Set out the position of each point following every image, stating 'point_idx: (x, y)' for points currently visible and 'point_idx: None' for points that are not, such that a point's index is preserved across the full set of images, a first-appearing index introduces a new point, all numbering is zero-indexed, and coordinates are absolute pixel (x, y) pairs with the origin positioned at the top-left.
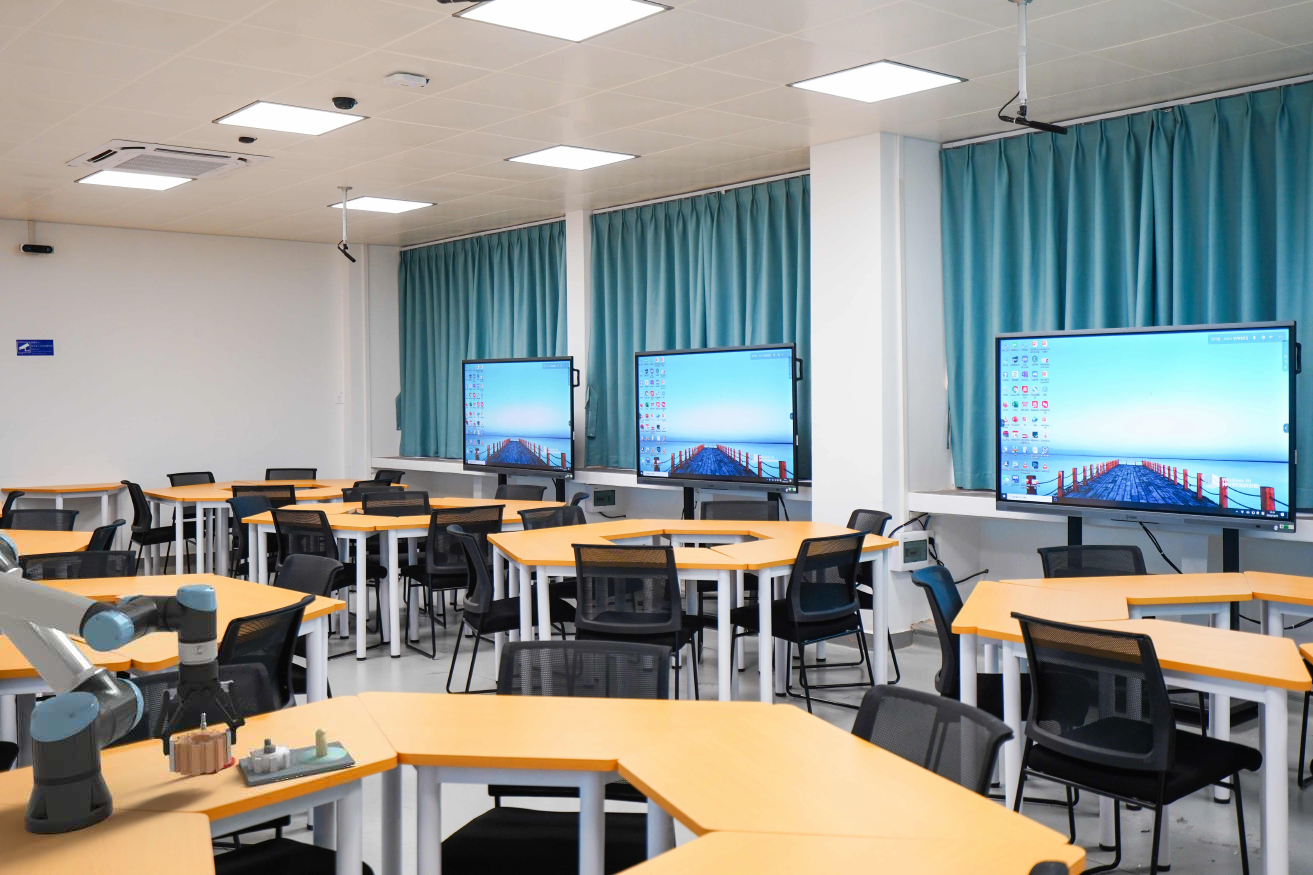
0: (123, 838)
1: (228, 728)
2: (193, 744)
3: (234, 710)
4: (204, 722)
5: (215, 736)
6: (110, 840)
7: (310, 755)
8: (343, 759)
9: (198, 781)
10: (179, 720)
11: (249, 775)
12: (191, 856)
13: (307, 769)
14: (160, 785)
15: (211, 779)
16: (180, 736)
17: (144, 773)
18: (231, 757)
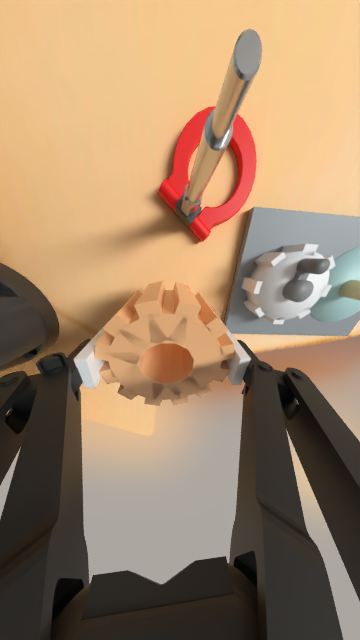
0: (92, 389)
1: (247, 360)
2: (148, 396)
3: (299, 458)
4: (223, 139)
5: (203, 371)
6: (80, 388)
7: (338, 277)
8: (347, 321)
9: (169, 268)
10: (79, 460)
11: (233, 309)
12: (147, 428)
13: (295, 330)
14: (110, 247)
15: (188, 271)
16: (113, 329)
17: (61, 116)
18: (251, 163)
